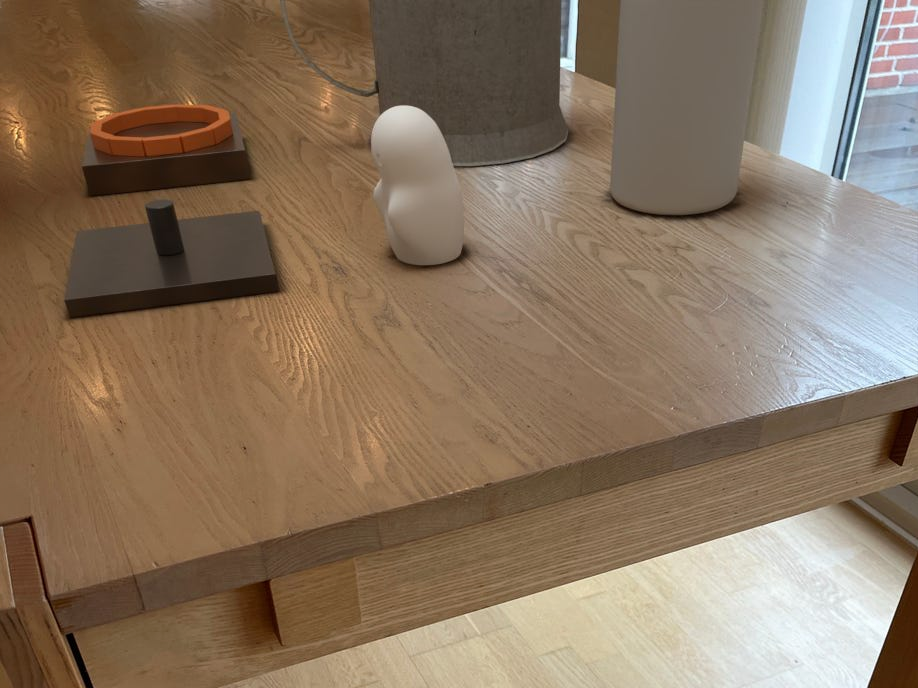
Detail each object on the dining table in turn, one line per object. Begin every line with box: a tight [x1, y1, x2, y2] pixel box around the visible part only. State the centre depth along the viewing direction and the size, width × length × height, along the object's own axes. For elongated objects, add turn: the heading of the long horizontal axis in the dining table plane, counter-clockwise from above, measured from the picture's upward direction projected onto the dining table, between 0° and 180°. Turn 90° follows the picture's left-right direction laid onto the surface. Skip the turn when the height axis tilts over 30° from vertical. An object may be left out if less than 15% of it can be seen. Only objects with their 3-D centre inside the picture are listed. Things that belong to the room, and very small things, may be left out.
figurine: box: [370, 105, 465, 266], centre depth 82 cm, size 7×8×12 cm
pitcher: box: [279, 0, 569, 167], centre depth 105 cm, size 23×32×25 cm
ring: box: [89, 103, 233, 157], centre depth 107 cm, size 15×15×2 cm
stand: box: [81, 112, 251, 197], centre depth 108 cm, size 17×17×3 cm
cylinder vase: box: [609, 0, 765, 216], centre depth 87 cm, size 12×12×25 cm
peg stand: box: [63, 198, 279, 318], centre depth 83 cm, size 17×17×6 cm
